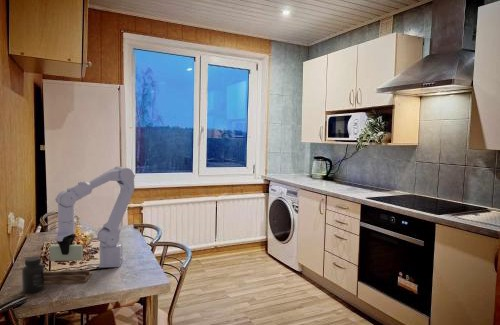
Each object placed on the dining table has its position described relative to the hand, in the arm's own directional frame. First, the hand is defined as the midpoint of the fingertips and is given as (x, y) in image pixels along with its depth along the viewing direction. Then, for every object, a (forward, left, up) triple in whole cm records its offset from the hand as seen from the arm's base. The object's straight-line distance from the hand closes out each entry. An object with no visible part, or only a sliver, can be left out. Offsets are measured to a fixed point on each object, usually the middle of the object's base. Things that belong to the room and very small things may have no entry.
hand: (66, 253), depth 141 cm
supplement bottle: (+7, +14, -9) cm, 18 cm away
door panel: (0, 0, -3) cm, 3 cm away
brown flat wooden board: (-1, +5, -9) cm, 10 cm away
